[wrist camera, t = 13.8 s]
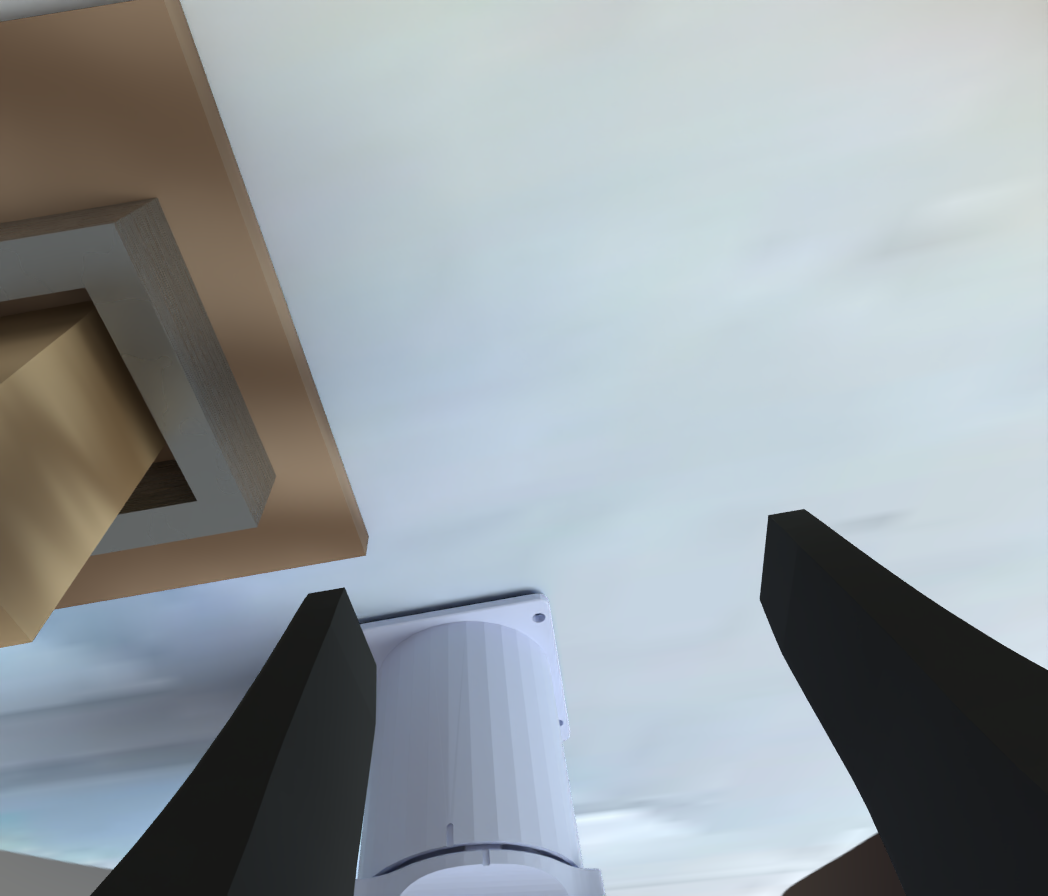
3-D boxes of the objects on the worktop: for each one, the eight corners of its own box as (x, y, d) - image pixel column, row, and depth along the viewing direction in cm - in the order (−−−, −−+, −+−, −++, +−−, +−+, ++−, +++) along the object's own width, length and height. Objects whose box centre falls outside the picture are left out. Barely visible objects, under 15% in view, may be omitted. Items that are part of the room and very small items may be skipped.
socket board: (368, 536, 23) (357, 609, 20) (34, 594, 23) (-25, 676, 20) (178, -2, 14) (111, -10, 12) (-362, 85, 14) (-570, 98, 11)
